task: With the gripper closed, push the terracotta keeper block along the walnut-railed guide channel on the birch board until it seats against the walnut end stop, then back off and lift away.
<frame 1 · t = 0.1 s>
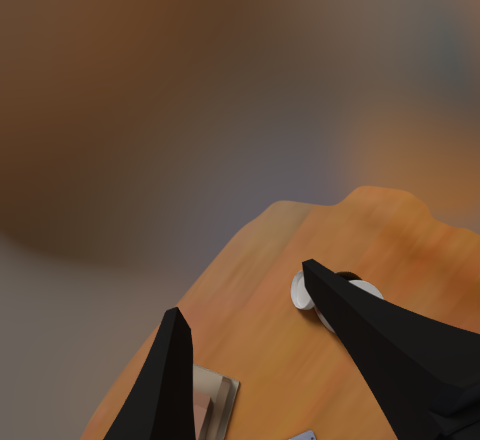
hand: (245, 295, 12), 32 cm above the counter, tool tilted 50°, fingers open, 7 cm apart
channel: (180, 434, 35), on the counter
keeper: (188, 407, 35), point 1 cm above the counter, touching channel
spread jar: (319, 298, 42), on the counter
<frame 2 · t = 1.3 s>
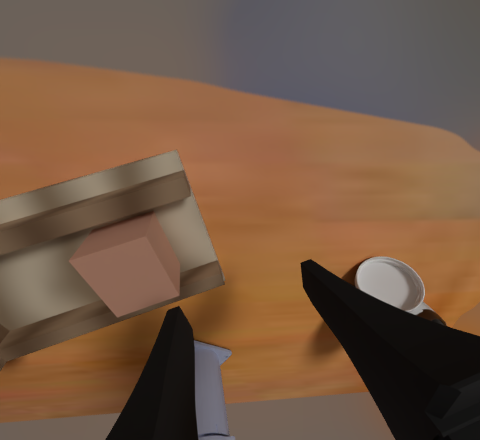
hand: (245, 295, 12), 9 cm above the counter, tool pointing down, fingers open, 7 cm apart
channel: (97, 259, 19), on the counter
keeper: (140, 248, 18), point 1 cm above the counter, touching channel
spread jar: (360, 287, 30), on the counter
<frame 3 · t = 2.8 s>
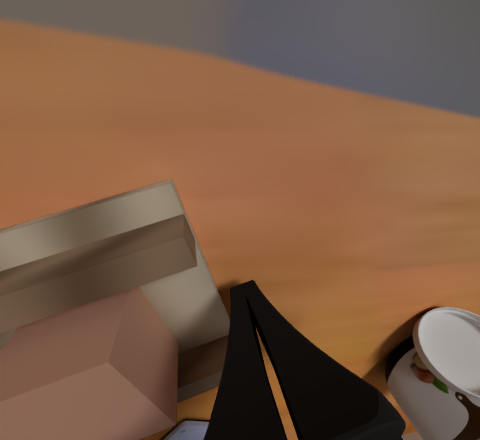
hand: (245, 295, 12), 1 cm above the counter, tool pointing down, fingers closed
channel: (46, 346, 12), on the counter
keeper: (114, 330, 12), point 1 cm above the counter, touching channel
spread jar: (411, 338, 24), on the counter
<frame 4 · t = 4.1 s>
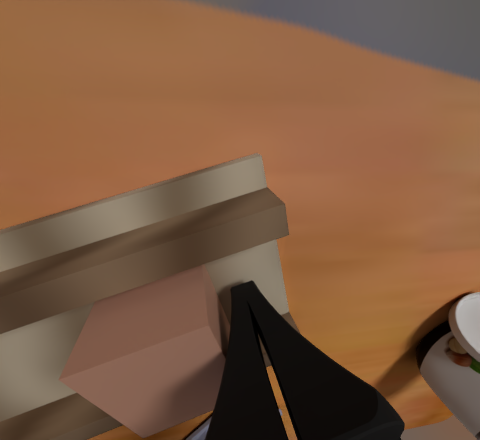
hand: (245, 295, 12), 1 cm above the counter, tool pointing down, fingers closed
channel: (118, 321, 12), on the counter
keeper: (174, 308, 12), point 1 cm above the counter, touching gripper
spread jar: (443, 325, 24), on the counter
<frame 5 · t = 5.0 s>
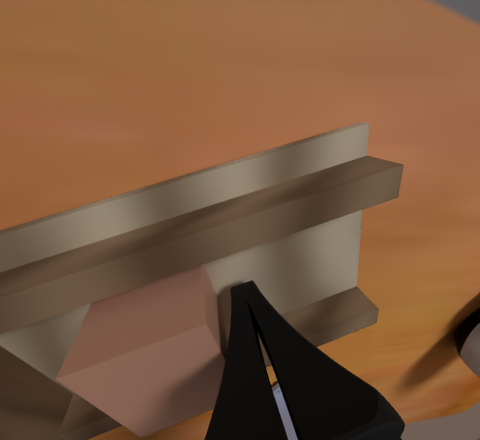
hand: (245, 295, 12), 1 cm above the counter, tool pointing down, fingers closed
channel: (204, 290, 13), on the counter
keeper: (173, 308, 12), point 1 cm above the counter, touching gripper
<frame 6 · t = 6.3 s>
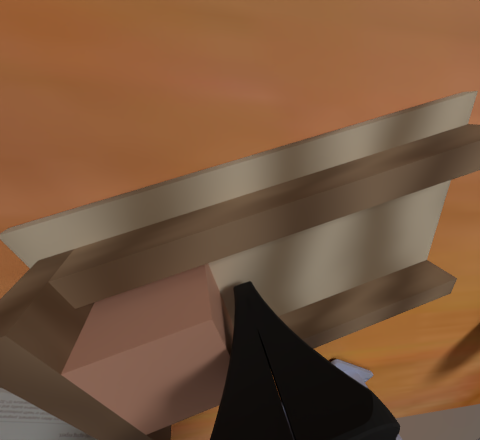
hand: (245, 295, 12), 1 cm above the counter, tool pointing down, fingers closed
channel: (294, 259, 13), on the counter
keeper: (176, 305, 12), point 1 cm above the counter, touching channel, gripper
supplement box: (33, 416, 15), on the counter
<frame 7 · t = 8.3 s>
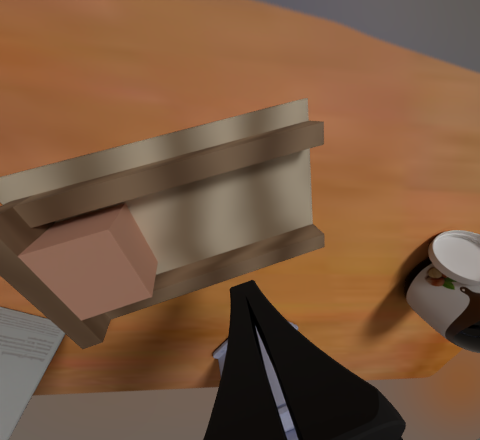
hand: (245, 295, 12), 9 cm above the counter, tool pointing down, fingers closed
channel: (202, 216, 18), on the counter
keeper: (112, 244, 17), point 1 cm above the counter, touching channel
spread jar: (425, 264, 30), on the counter
supplement box: (11, 334, 19), on the counter
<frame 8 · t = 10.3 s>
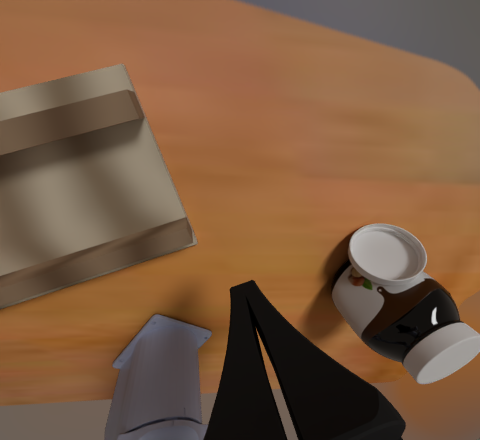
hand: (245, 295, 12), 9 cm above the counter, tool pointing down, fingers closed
channel: (39, 209, 16), on the counter
spread jar: (355, 261, 28), on the counter
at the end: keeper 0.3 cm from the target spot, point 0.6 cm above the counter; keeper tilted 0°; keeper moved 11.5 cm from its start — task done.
